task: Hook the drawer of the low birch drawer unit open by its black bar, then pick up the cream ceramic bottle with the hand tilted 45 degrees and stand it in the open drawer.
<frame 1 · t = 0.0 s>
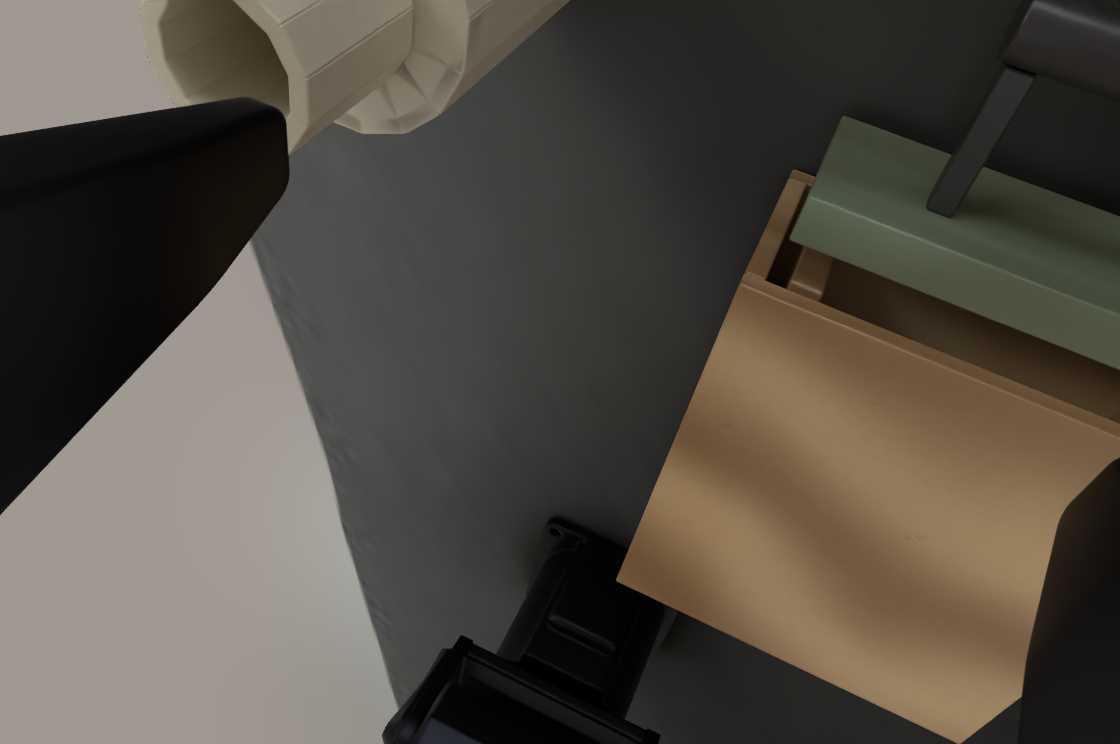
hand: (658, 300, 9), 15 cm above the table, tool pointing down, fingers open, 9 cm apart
cabinet: (896, 414, 27), on the table
drawer: (969, 358, 22), point 3 cm above the table, slide at 1.0 cm
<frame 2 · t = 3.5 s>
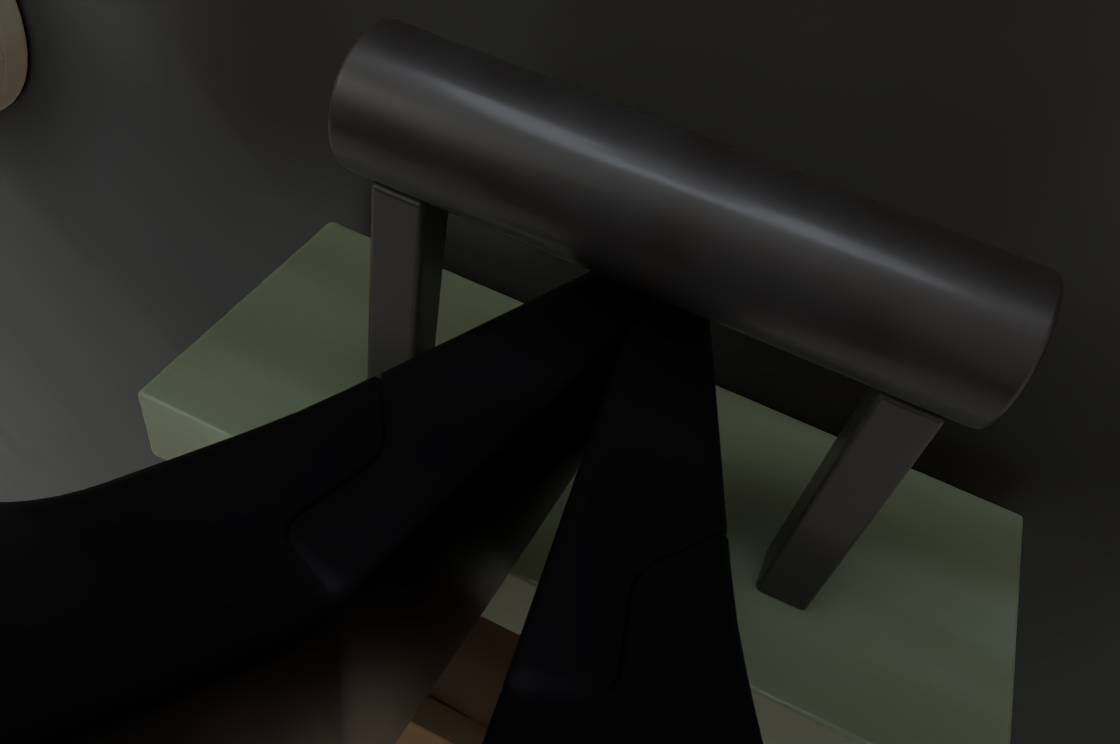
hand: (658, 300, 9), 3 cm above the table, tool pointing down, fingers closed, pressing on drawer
cabinet: (549, 663, 21), on the table
drawer: (551, 607, 14), point 3 cm above the table, slide at 3.1 cm, touching gripper
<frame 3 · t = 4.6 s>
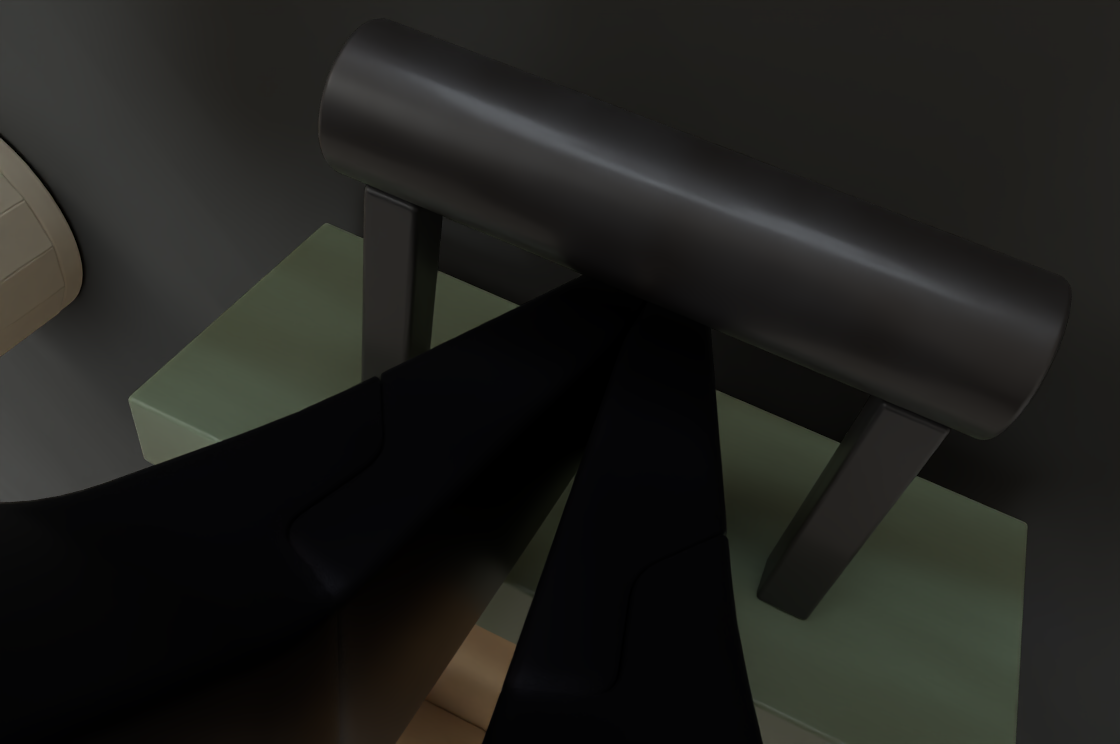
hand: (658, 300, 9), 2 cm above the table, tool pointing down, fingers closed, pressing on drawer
drawer: (549, 613, 13), point 3 cm above the table, slide at 7.9 cm, touching gripper
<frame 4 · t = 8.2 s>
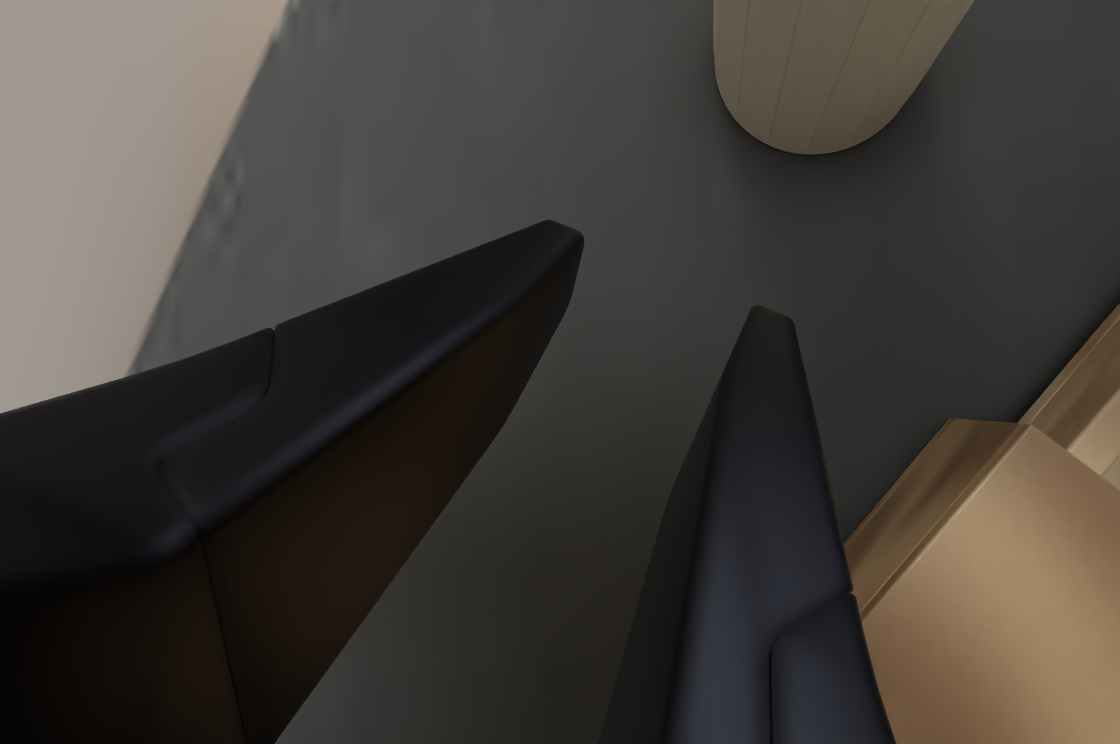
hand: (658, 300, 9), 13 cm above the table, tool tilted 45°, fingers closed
bottle: (814, 57, 22), on the table
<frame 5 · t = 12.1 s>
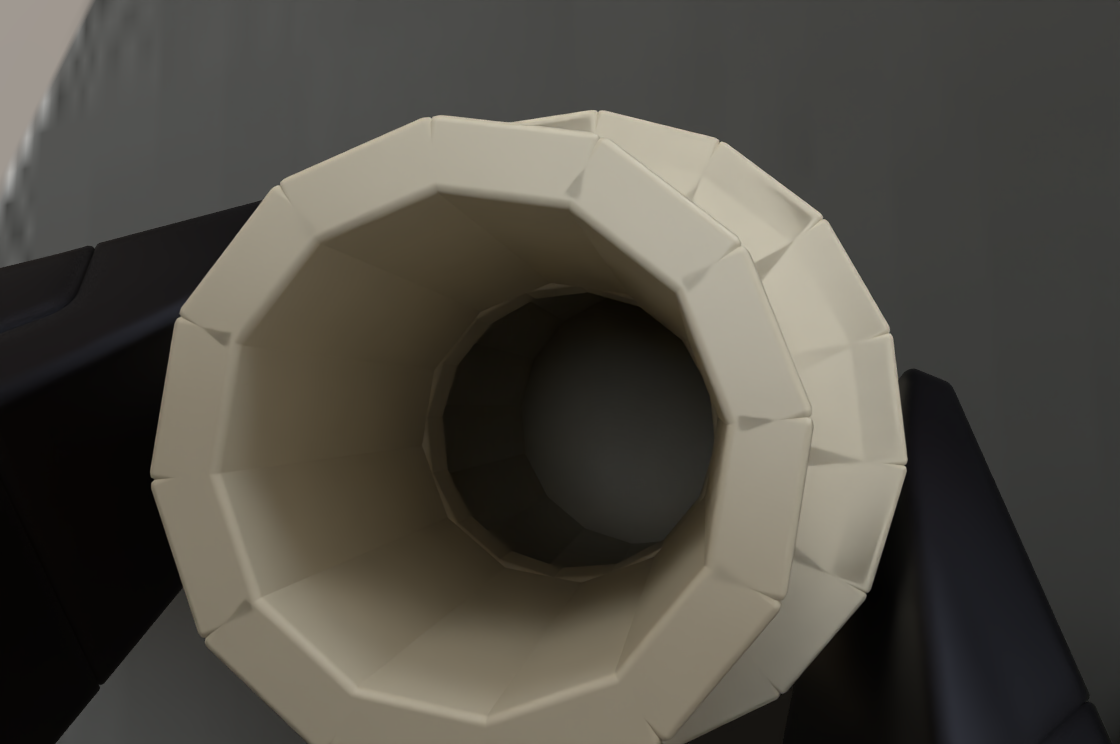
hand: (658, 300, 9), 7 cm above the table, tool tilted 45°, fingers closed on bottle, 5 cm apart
bottle: (645, 416, 16), on the table, touching gripper
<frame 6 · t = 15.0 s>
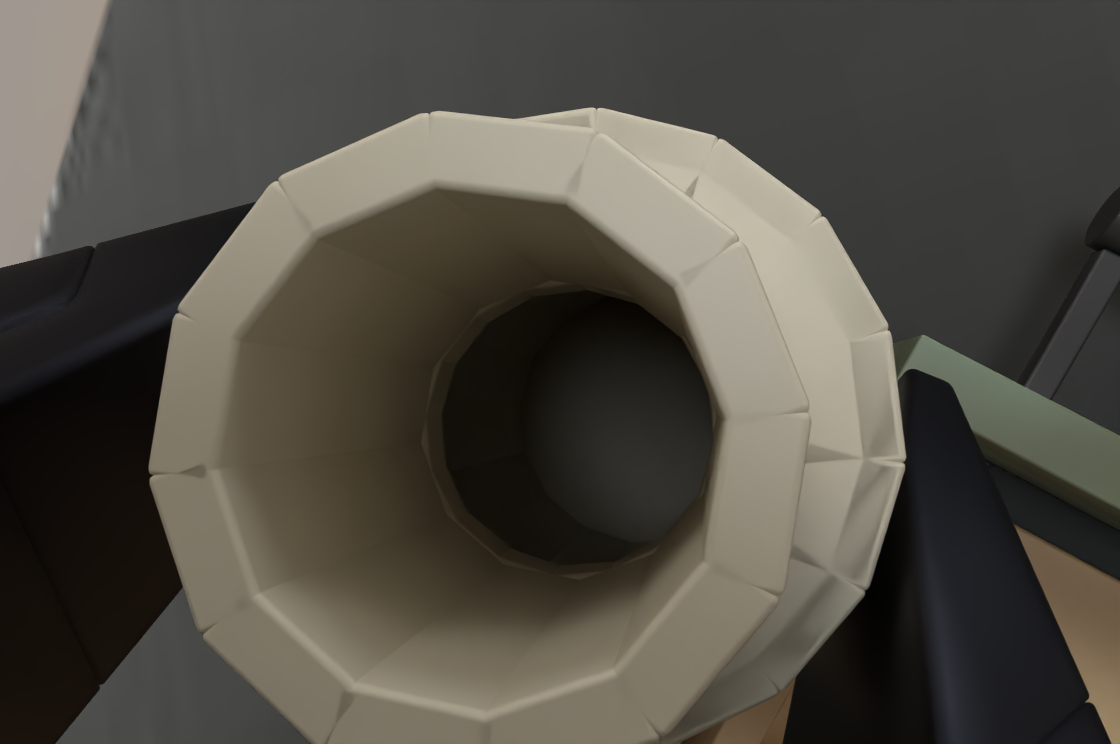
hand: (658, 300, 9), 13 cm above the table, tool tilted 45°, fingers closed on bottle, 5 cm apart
bottle: (645, 415, 16), point 7 cm above the table, touching gripper
drawer: (1040, 621, 18), point 3 cm above the table, slide at 7.9 cm
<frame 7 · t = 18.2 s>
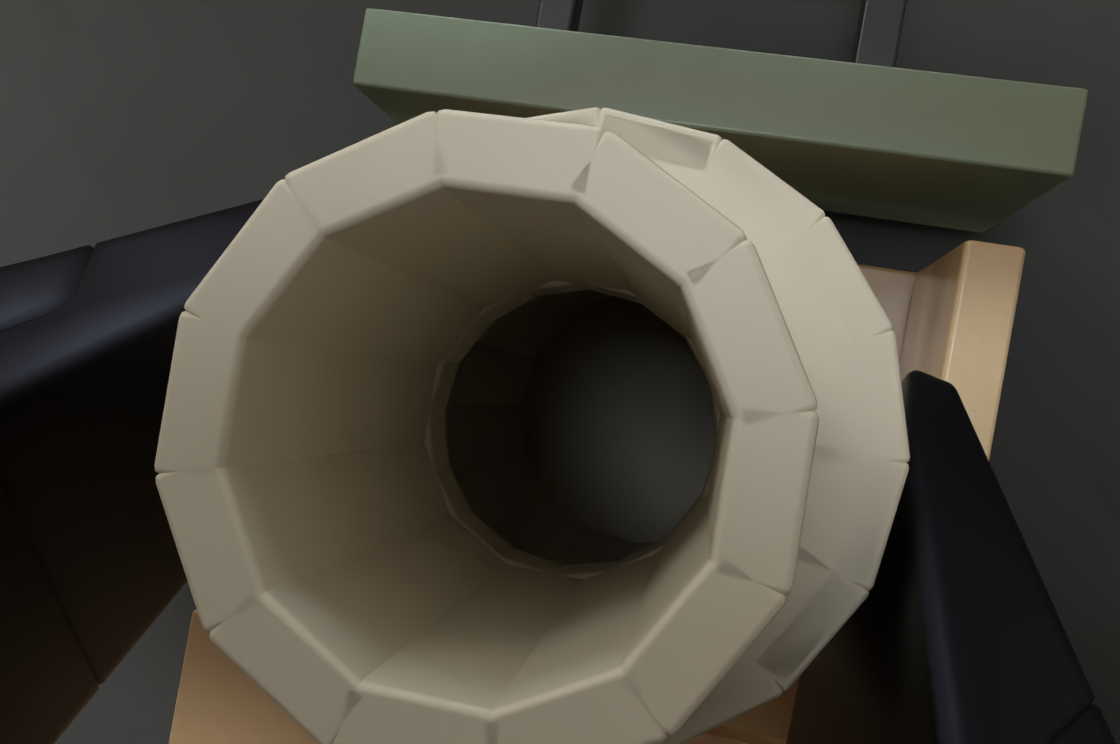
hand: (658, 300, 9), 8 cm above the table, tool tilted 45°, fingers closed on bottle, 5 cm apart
bottle: (646, 416, 16), point 2 cm above the table, touching drawer, gripper
drawer: (663, 317, 15), point 3 cm above the table, slide at 8.0 cm, touching bottle
when the fingers open (8 cm above the table, at t = 18.3 s): bottle stays where it is, resting on drawer.
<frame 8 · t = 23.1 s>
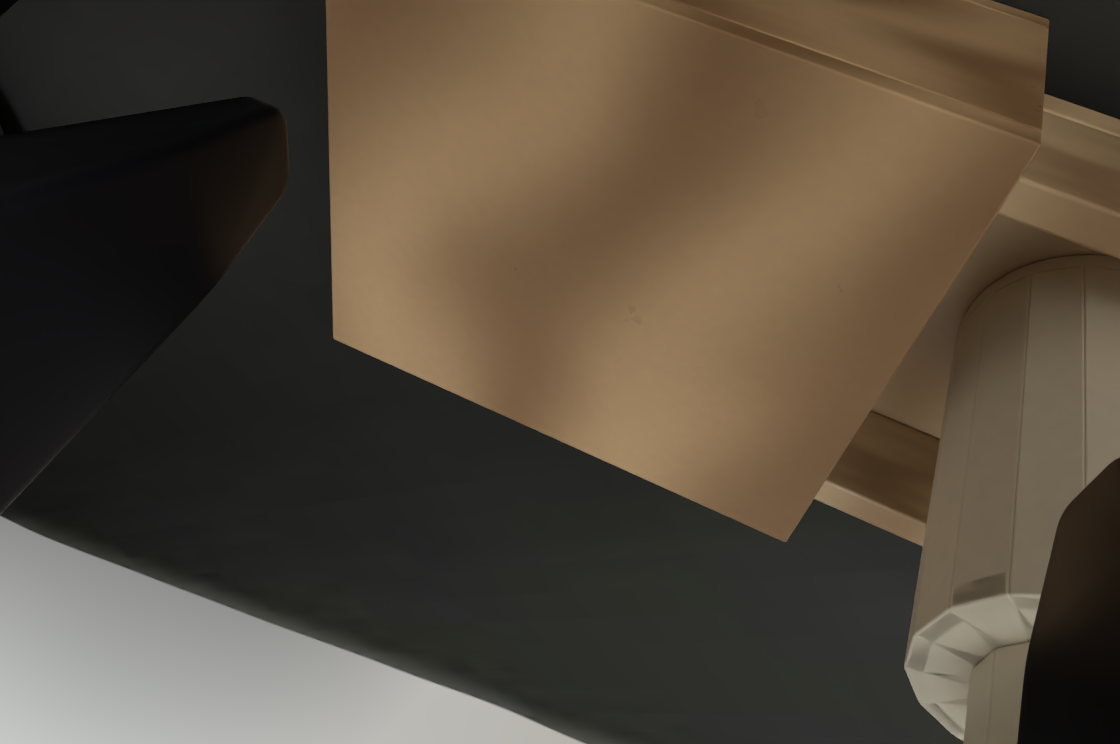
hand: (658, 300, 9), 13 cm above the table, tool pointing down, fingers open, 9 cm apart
bottle: (1077, 348, 20), point 2 cm above the table, touching drawer
cabinet: (670, 151, 23), on the table
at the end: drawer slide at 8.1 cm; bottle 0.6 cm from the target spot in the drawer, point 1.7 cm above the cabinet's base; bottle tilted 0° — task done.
